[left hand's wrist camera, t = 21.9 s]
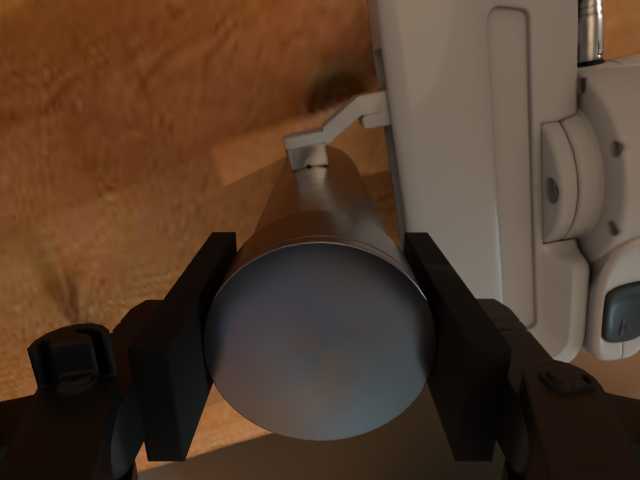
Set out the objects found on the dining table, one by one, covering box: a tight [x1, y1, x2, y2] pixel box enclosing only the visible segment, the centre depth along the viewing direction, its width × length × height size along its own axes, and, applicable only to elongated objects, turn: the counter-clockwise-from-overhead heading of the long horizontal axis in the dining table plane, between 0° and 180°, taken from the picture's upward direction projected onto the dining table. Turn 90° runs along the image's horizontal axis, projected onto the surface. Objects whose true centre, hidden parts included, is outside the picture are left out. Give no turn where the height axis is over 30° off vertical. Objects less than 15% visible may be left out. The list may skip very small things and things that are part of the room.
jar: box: [253, 146, 388, 236], centre depth 18 cm, size 5×5×16 cm
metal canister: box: [203, 211, 437, 441], centre depth 11 cm, size 6×6×2 cm
